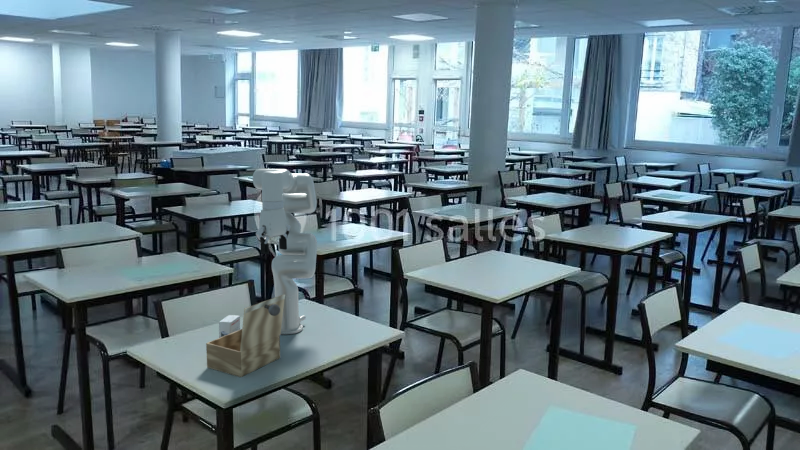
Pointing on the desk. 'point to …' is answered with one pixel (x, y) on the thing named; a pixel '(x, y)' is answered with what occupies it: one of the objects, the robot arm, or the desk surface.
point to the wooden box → (240, 354)
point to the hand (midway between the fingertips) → (274, 251)
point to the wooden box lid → (262, 322)
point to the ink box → (229, 325)
